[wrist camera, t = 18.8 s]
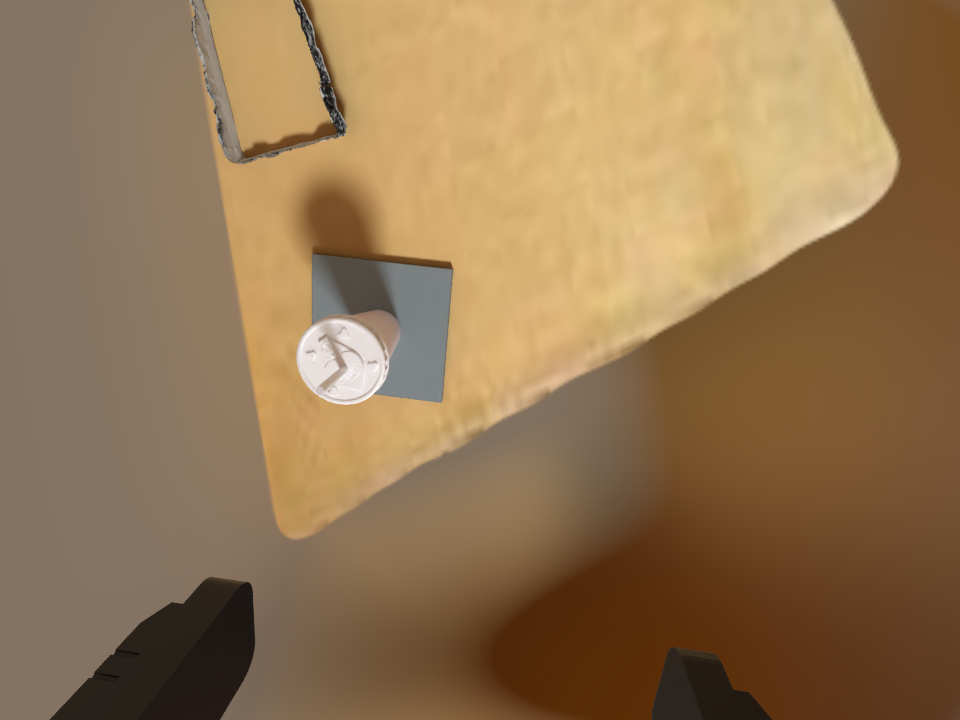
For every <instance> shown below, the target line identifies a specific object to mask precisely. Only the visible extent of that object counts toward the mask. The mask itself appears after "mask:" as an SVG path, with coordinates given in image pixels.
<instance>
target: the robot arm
mask: <svg viewBox="0 0 960 720" xmlns="http://www.w3.org/2000/svg"><path fill="white" fill-rule="evenodd" d="M253 609H254V608H253V590H252V586H251V584H250V583H249V582H242V581H236V580H228V579H222V578H215V577H209V578H207V579H206V580H204V581H203V582H202V583H201V584H200V586H198V588H197V589H196V590H195V591H194V592H193V593H192V595H191V596H190V597H189V598H188V599H187V600H186V601H185V603H184V604H179V603H173V602H172V603H170V604H169V605H167V606H166V607H164V608H163V609H161V610H159V611H158V612H156V613H155V614H153V615H152V616H150V617H149V618H147V619H146V620H144V621H143V622H141V623H140V624H139V625H138V626H137V627H136V628H135V629H134V630H133V632H132V633H131V634H130V635H129V636H128V637H127V638H126V639H125V640H124V641H123V642H122V643H121V644H120V646H118V648H117V649H116V651H115V653H114V655H110V656H109V657H108V658H107V659H106V660H105V661H104V662H103V663H102V665H101V666H100V667H99V668H98V669H97V670H96V671H95V673H94V676H93V677H92V678H89V679H88V680H87V681H86V682H85V683H84V684H83V685H82V686H81V687H80V688H79V689H78V690H77V691H76V692H75V693H74V694H73V696H72V697H71V698H70V699H69V700H68V701H67V702H66V703H65V704H64V705H63V706H62V707H61V708H60V709H59V710H58V711H57V713H56V714H55V715H54V716H53V717H52V718H51V719H50V720H220V719H221V717H222V716H223V714H224V712H225V711H226V709H227V707H228V706H229V704H230V702H231V700H232V699H233V697H234V696H235V694H236V692H237V691H238V689H239V687H240V685H241V684H242V682H243V681H244V678H245V676H246V675H247V672H248V670H249V667H250V665H251V661H252V658H253V654H254V649H255V630H254V610H253ZM652 720H772V719H771V718H770V717H769V716H768V714H767V713H766V712H765V711H764V710H763V708H762V707H761V706H760V705H759V704H758V703H757V701H756V700H755V699H754V698H753V697H752V695H750V693H749V692H744V691H737V690H733V688H732V686H731V683H730V681H729V679H728V677H727V674H726V672H725V670H724V668H723V665H722V663H721V661H720V659H719V658H718V657H717V656H716V655H715V654H714V653H707V652H701V651H693V650H687V649H680V648H674V647H672V648H670V650H669V651H668V654H667V657H666V661H665V665H664V668H663V672H662V675H661V679H660V683H659V686H658V690H657V694H656V697H655V701H654V705H653V710H652Z"/></svg>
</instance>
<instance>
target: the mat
mask: <svg viewBox="0 0 960 720" xmlns="http://www.w3.org/2000/svg"><path fill="white" fill-rule="evenodd" d="M452 276H453V269H449V268H440V267H431V266H422V265H413V264H404V263H395V262H386V261H377V260H368V259H359V258H350V257H341V256H332V255H323V254H312V325H313V324H314V323H315V322H316V321H318V320H320V319H322V318H324V317H326V316H330V315H335V314H345V315H355V314H359V313H364V312H368V311H373V310H384V311H387V312H389V313H391V314H392V315H393V316H394V317H395V318H396V319H397V321H398V323H399V325H400V329H401V334H400V338H399V341H398V343H397V345H396V347H395V350H394V352H393V354H392V356H391V358H390V360H389V370H388V373H387V377H386V379H385V381H384V382H383V384H382V386H381V387H380V388H379V389H378V390H377V391H376V392H375V393H374V394H376V395H384V396H392V397H400V398H408V399H416V400H424V401H432V402H440V403H441V402H442V399H443V387H444V374H445V362H446V350H447V338H448V325H449V313H450V301H451V289H452Z"/></svg>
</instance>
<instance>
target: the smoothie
mask: <svg viewBox="0 0 960 720" xmlns="http://www.w3.org/2000/svg"><path fill="white" fill-rule="evenodd" d="M400 334H401V329H400V325H399V323H398V321H397V319H396V318H395V317H394V316H393V315H392V314H391V313H389V312H387V311H384V310H373V311H368V312H364V313H359V314H355V315H345V314H335V315H330V316H326V317H324V318H322V319H320V320H318V321H316V322H315V323H314V324H313V325H312V326H310V327H309V328H308V329H307V330H306V331H305V332H304V334H303V335H302V337H301V339H300V341H299V344H298V348H297V365H298V369H299V372H300V374H301V376H302V378H303V380H304V382H305V383H306V384H307V386H308V387H309V388H310V389H311V390H312V391H313V392H314V393H315V394H317V395H318V396H319V397H321V398H323V399H325V400H327V401H330V402H333V403H337V404H355V403H359V402H361V401H364V400H366V399H367V398H369V397H370V396H372V395H373V394H374V393H375V392H376V391H377V390H378V389H379V388H380V387H381V386H382V384H383V382H384V381H385V379H386V377H387V373H388V370H389V360H390V358H391V356H392V354H393V352H394V350H395V347H396V345H397V343H398V341H399V338H400Z"/></svg>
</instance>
